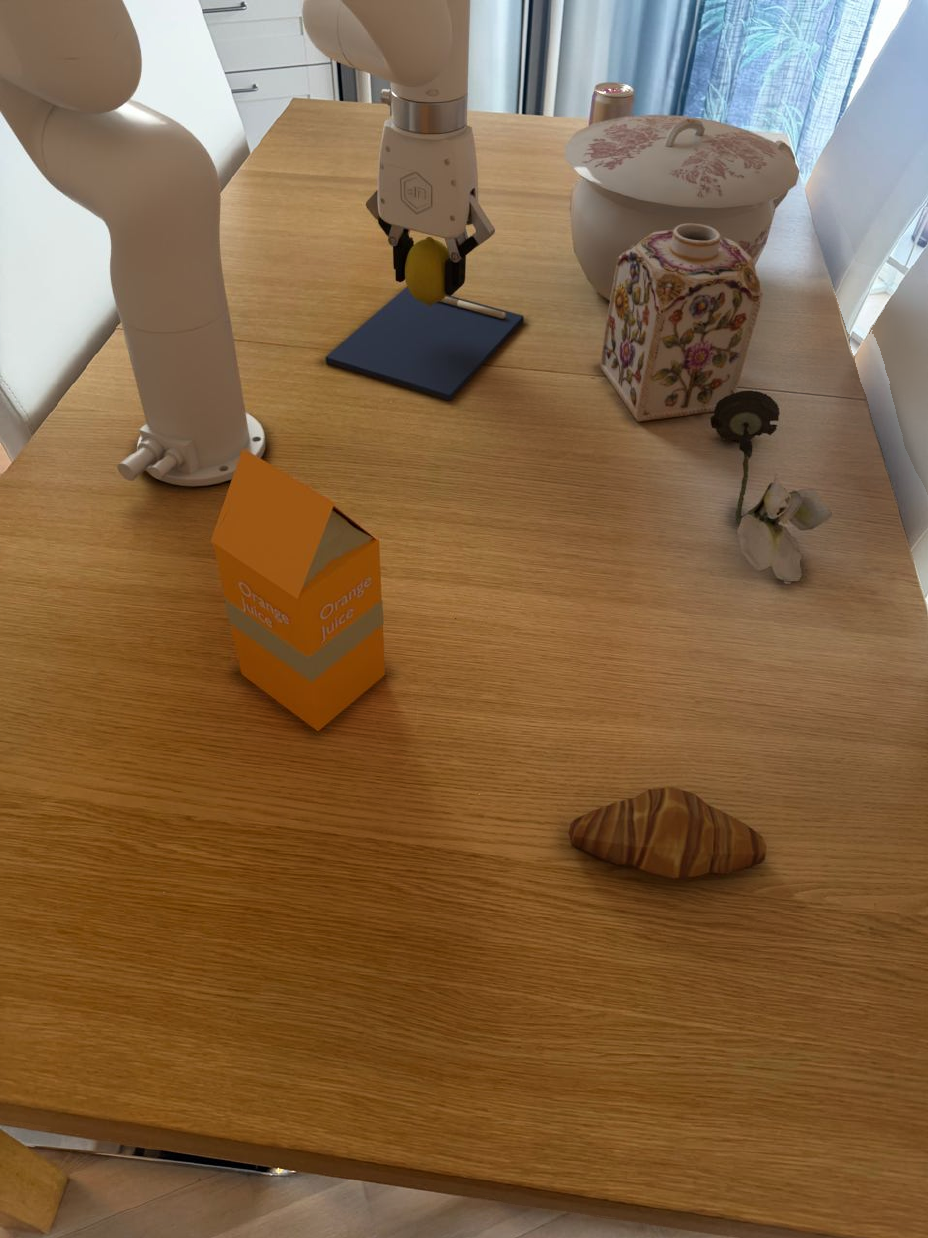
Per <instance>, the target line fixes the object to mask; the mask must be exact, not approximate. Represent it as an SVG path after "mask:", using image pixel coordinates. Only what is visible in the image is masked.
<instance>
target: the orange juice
mask: <svg viewBox="0 0 928 1238" xmlns="http://www.w3.org/2000/svg"><path fill="white" fill-rule="evenodd" d="M212 533H213V534H212V536H211V539H210V542H212V546H213V549H214V550H213V551H214V554H215V559H216V564H217V568H218V573H219V577H220V581H221V582H220V583H221V586H222V591H223V597H224V604H225V608H226V609H225V610H226V613H227V618H228V622H229V624H230V628H231V633H232V636H233V637H232V638H233V642H234V646H235V651H236V655H237V659H238V660H237V661H238V665H239V669H240V674H241V675H242V676H243V677H244V678H246V679H247V680H249V681H250V682H251V683H252V684H254V685H255V686H257V688H259V689H260V690H261V691H263V692H265V693H266V694H267V695H268V696H270V697H271V698H272V699H274V700H275V701H276V702H278V703H279V704H280V705H282V706H283V707H285V708H286V709H287V710H289V711H290V712H291V713H292V714H294V716H297V717H298V718H299V719H300V720H302V721H303V722H304V723H306V724H307V725H309V726H310V727H311V728H313V730H315V731H317V732H320V731H321V730H322V729H323V728H324V727H326V725H328V724H329V723H330V722H331V721H332V720H334V719H335V718H336V717H337V716H338V715H339V714H341V713H342V712H343V711H345V709H347V708H348V707H349V706H351V704H353V703H354V702H355V701H356V700H357V699H358V698H360V697H361V696H362V695H363V694H364V693H365V692H367V691H368V690H369V689H370V688H371V687H372V686H374V685H375V684H376V683H377V682H379V681H380V680H381V679H382V678H383V677H384V676H385V675H386V667H385V646H384V645H385V644H384V642H385V641H384V603H383V602H384V601H383V598H382V576H381V549H380V539H379V538H378V537H377V536H375V535H373V534H371V533H370V532H368V531H367V530H366V529H364V528H363V527H362V526H360V525H359V524H358V523H357V522H355V521H354V520H353V519H352V518H350V516H348V515H347V514H345V513H344V512H343V511H342V510H340V509H339V508H338V507H337V506H335V502H334V501H332V500H331V499H329V498H327V497H326V496H324V495H322V494H321V493H319V492H318V491H316V490H314V489H312V488H311V487H309V486H308V485H306V484H304V483H302V482H301V481H299V480H297V479H296V478H295V477H293V476H290V475H289V474H287V473H286V472H284V471H283V470H281V469H279V468H277V467H276V466H274V465H272V464H271V463H269V462H267V461H266V460H263V459H262V458H259V457H257V456H255V455H254V454H252V453H250V452H249V451H247V450H245V449H244V448H243V449H242V452H241V455H240V458H239V461H238V464H237V466H236V469H235V472H234V475H233V478H232V479H231V480H230V484H229V488H228V490H227V492H226V496H225V499H224V502H223V505H222V507H221V510H220V513H219V516H218V519H217V522H216V525H215V527H214V531H213V532H212Z"/></svg>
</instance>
